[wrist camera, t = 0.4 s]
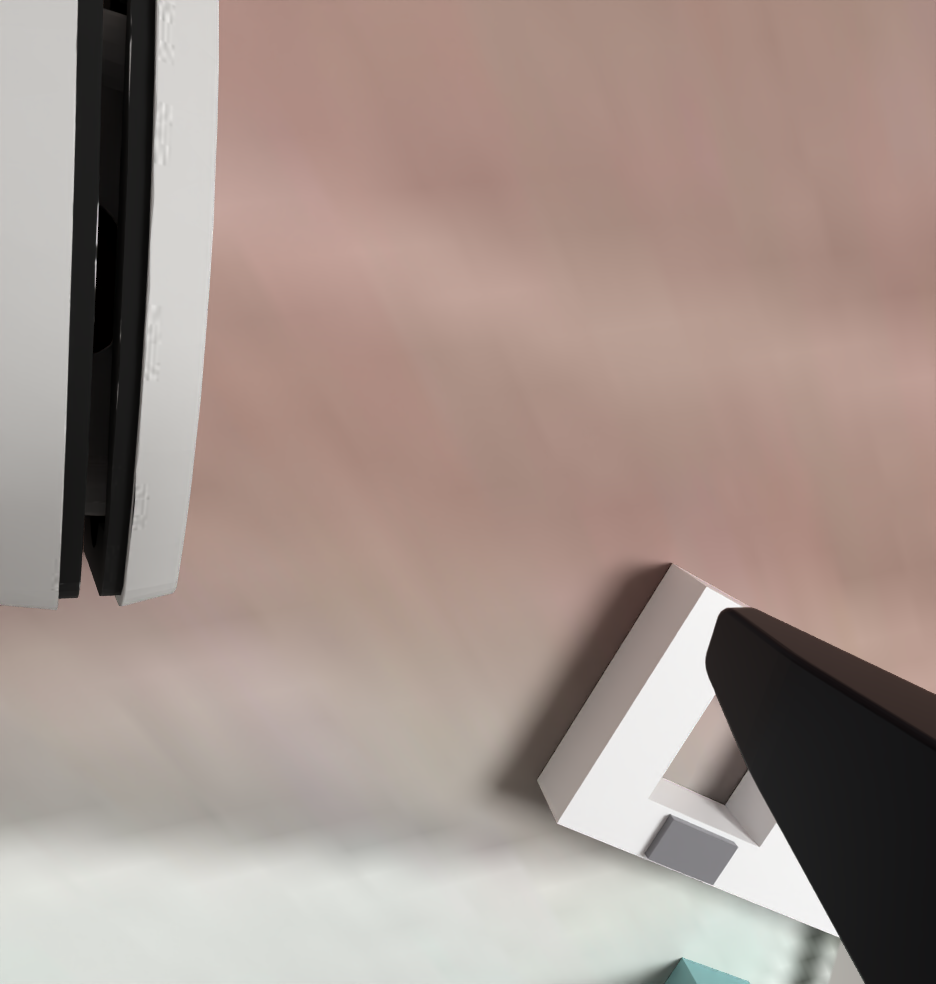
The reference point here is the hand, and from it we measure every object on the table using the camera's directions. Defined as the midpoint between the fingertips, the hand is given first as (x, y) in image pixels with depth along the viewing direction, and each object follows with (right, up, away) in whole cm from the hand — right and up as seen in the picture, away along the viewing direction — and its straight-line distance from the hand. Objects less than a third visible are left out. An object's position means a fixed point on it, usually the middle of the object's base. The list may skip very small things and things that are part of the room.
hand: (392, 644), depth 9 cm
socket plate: (+15, -10, +21) cm, 28 cm away
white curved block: (-10, +8, +12) cm, 18 cm away
